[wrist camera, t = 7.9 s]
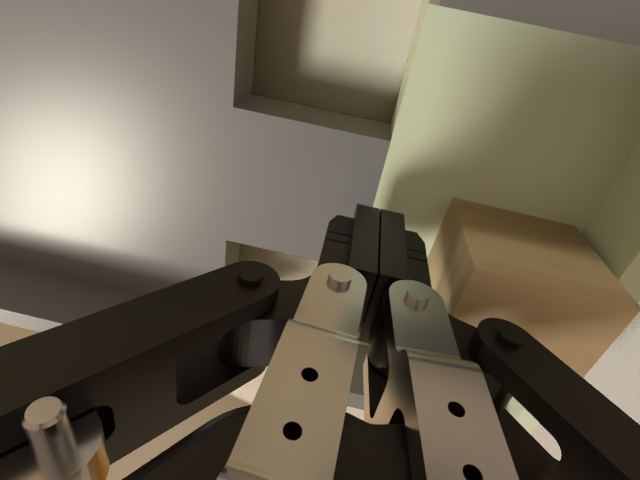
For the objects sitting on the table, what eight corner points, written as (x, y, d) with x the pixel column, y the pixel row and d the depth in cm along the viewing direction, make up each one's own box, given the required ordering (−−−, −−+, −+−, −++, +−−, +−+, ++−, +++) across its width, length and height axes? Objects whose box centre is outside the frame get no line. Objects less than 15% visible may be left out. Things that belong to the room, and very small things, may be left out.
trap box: (-168, -151, 12) (-420, -217, 8) (693, 22, 11) (847, 37, 8) (-30, 234, 20) (-130, 291, 16) (493, 355, 19) (520, 447, 15)
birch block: (452, 196, 13) (475, 268, 10) (575, 225, 13) (641, 308, 9) (414, 290, 15) (421, 376, 12) (518, 315, 15) (556, 409, 12)
